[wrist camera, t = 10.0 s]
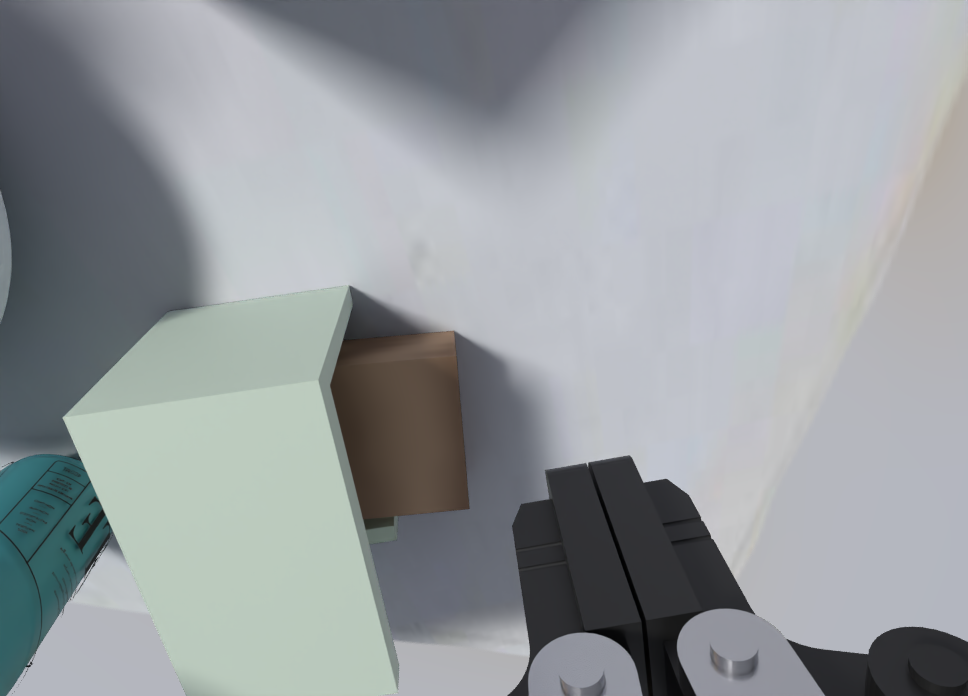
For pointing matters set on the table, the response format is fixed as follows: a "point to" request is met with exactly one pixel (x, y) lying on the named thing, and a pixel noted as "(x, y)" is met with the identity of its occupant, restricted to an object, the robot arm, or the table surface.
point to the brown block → (402, 423)
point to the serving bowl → (4, 257)
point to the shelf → (243, 499)
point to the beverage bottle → (42, 550)
